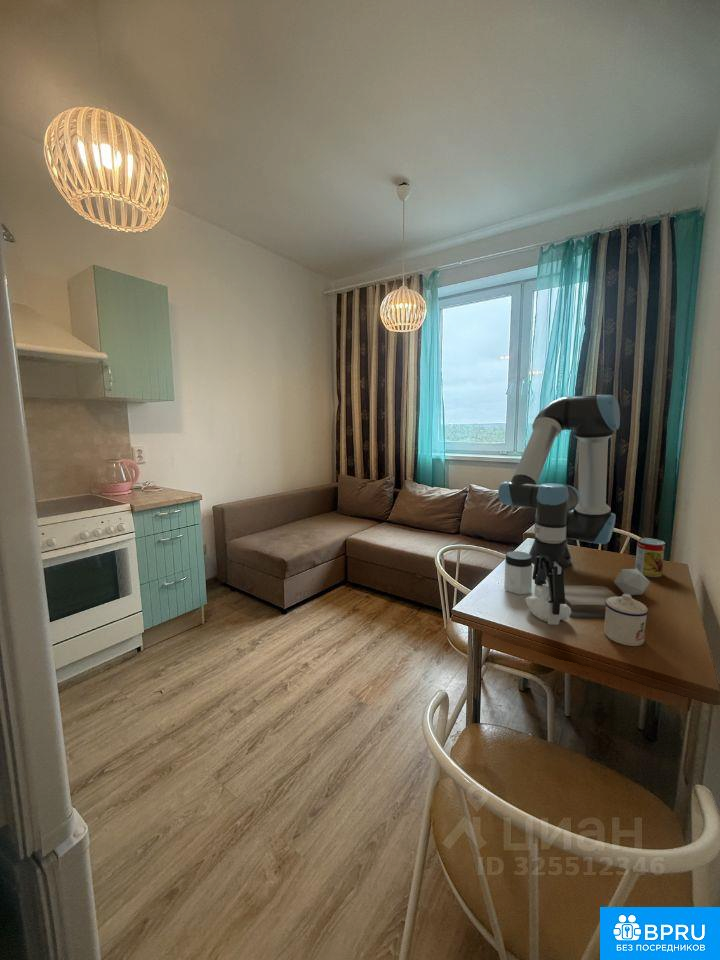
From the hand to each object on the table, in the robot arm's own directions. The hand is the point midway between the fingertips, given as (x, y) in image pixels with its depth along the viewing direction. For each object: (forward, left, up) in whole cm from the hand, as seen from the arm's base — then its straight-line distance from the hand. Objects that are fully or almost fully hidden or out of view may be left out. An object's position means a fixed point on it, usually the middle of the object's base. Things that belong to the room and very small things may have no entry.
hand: (546, 614), depth 110 cm
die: (-17, +33, -1) cm, 37 cm away
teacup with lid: (+8, +17, -1) cm, 19 cm away
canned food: (-34, +49, -1) cm, 60 cm away
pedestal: (-9, +16, -1) cm, 18 cm away
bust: (0, 0, -1) cm, 1 cm away
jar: (-19, -2, -1) cm, 19 cm away
